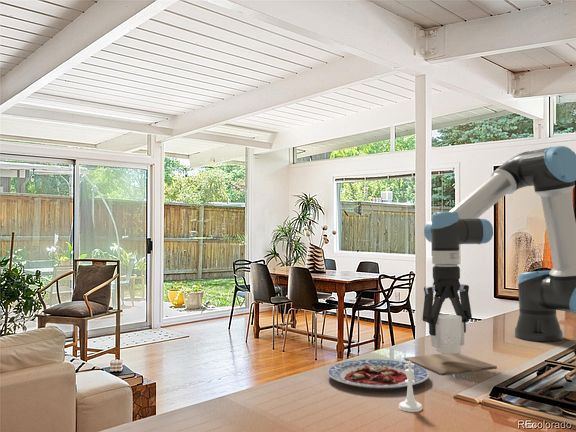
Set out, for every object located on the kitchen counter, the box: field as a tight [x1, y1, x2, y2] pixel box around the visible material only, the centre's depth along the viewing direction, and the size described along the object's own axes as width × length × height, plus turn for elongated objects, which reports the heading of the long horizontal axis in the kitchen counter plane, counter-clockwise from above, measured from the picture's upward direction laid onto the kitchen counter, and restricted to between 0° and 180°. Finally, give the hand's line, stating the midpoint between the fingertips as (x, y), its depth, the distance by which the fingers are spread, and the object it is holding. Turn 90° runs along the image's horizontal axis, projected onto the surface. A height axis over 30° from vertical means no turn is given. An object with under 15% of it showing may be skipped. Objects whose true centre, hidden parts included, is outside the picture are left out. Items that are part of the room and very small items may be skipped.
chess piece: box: [398, 361, 423, 413], centre depth 111 cm, size 5×5×10 cm
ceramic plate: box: [327, 358, 430, 390], centre depth 133 cm, size 26×26×3 cm
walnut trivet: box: [404, 353, 498, 376], centre depth 147 cm, size 18×18×1 cm
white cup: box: [435, 313, 462, 354], centre depth 147 cm, size 8×8×10 cm
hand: (448, 345), depth 147 cm, fingers closed on white cup, 8 cm apart
